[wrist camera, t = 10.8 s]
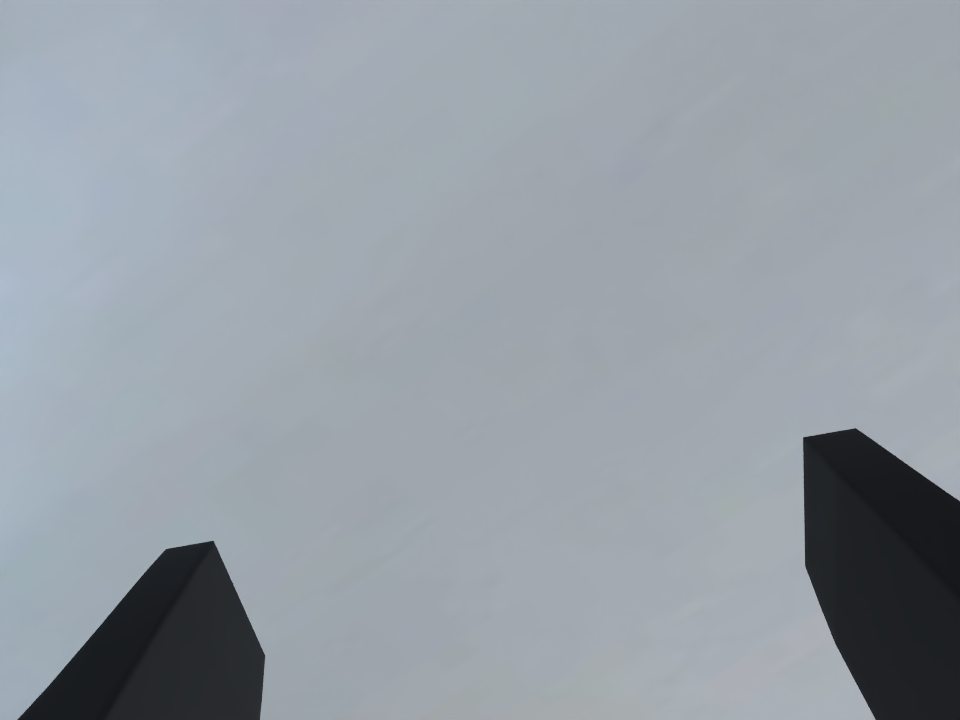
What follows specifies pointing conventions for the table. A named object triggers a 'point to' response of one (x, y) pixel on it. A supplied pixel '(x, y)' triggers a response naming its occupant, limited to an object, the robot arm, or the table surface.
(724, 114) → the table surface
